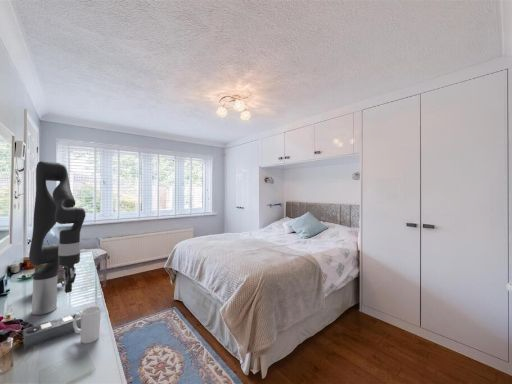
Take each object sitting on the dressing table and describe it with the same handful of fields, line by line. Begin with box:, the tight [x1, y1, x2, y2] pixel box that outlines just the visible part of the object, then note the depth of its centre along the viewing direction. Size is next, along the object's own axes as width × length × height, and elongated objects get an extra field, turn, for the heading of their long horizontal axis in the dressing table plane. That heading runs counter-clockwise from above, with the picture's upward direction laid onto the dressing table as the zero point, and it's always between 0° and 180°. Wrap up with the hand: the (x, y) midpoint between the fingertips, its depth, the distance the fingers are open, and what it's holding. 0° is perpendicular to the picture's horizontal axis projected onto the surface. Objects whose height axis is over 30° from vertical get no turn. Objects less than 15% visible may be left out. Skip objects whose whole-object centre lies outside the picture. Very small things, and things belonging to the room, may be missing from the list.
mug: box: [73, 305, 102, 344], centre depth 97 cm, size 10×7×12 cm, turn 98°
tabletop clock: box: [33, 263, 65, 287], centre depth 142 cm, size 14×9×25 cm, turn 168°
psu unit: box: [22, 311, 81, 350], centre depth 99 cm, size 7×20×5 cm, turn 140°
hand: (68, 291), depth 102 cm, fingers closed
